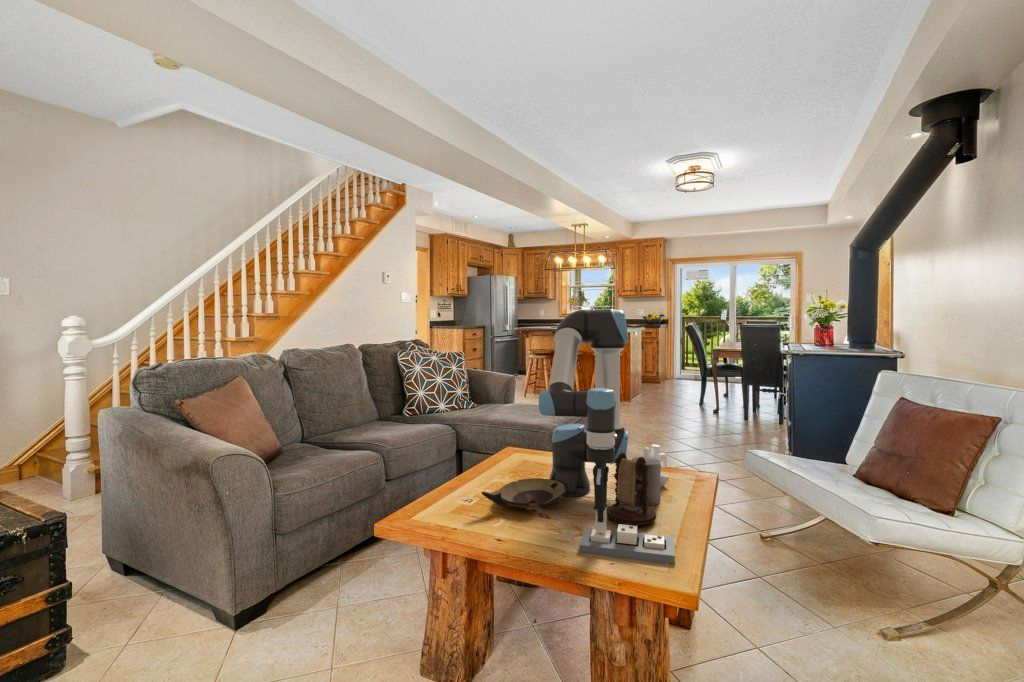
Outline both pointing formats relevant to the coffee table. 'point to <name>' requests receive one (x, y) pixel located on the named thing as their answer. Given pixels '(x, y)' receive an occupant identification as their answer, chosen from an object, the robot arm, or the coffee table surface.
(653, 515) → the scroll
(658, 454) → the figurine
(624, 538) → the white die
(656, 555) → the button board
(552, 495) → the oil lamp
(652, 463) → the pillar candle
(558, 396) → the robot arm
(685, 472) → the coffee table surface
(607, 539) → the white die
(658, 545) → the white die
